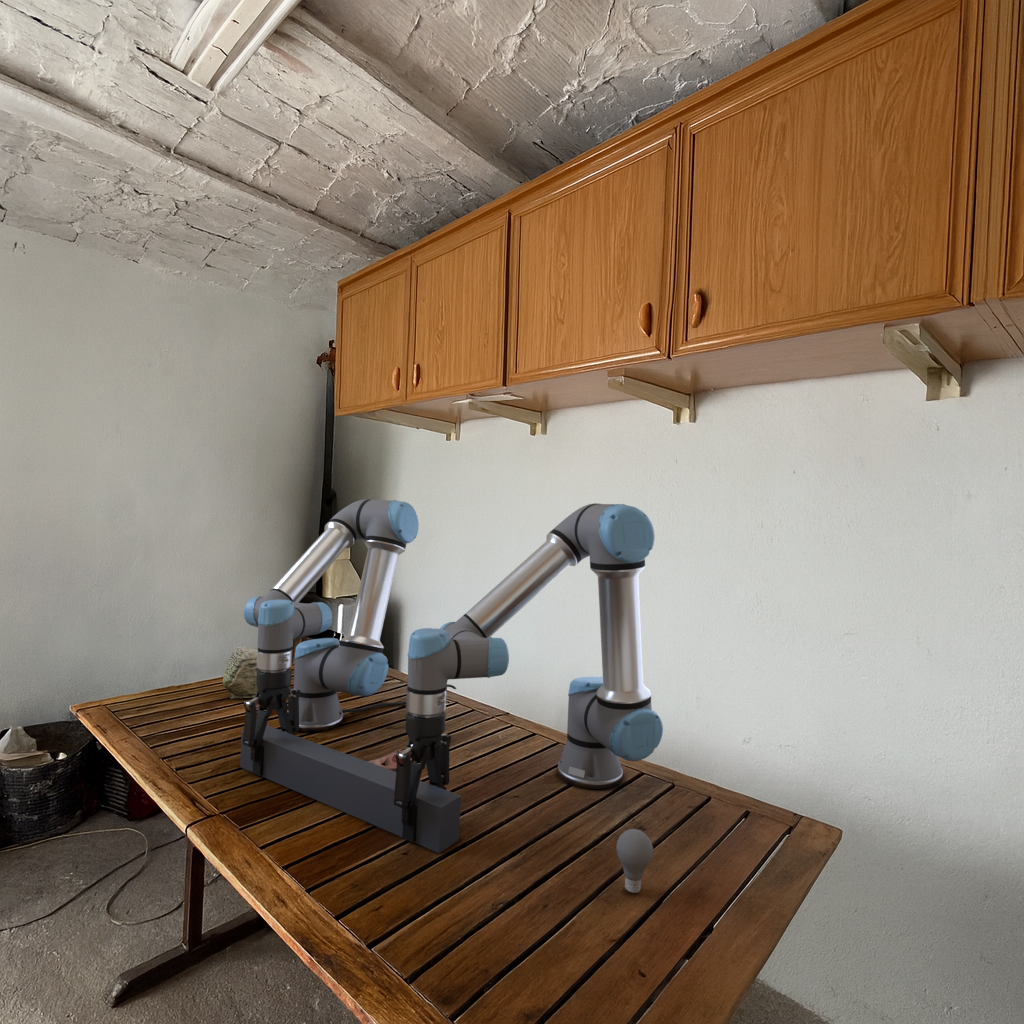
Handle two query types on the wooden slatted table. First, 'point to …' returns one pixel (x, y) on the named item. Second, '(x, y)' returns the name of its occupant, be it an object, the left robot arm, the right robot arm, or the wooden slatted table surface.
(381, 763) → the anatomical model
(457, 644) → the right robot arm
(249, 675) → the fossil
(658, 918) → the wooden slatted table surface
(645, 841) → the light bulb
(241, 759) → the bar
